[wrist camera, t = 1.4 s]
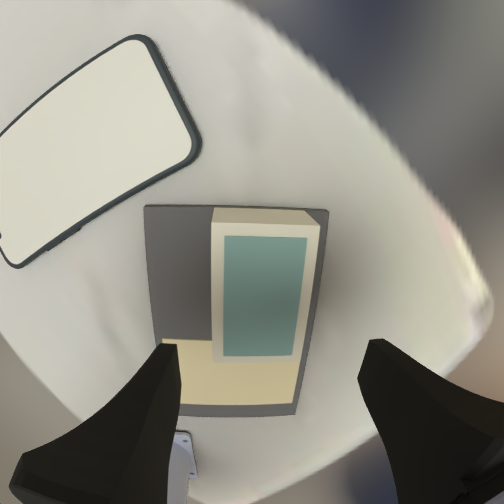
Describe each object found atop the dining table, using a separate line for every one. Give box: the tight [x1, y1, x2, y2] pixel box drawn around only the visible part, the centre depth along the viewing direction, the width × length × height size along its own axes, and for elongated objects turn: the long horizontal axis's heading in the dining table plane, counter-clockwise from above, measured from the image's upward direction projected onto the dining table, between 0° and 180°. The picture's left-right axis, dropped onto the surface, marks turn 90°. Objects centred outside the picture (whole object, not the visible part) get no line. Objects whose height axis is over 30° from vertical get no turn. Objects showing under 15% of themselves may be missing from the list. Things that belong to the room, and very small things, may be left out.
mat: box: [144, 205, 329, 417], centre depth 20 cm, size 17×10×1 cm, turn 177°
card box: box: [211, 207, 320, 363], centre depth 17 cm, size 8×5×3 cm, turn 177°
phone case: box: [0, 34, 202, 269], centre depth 15 cm, size 9×2×16 cm
